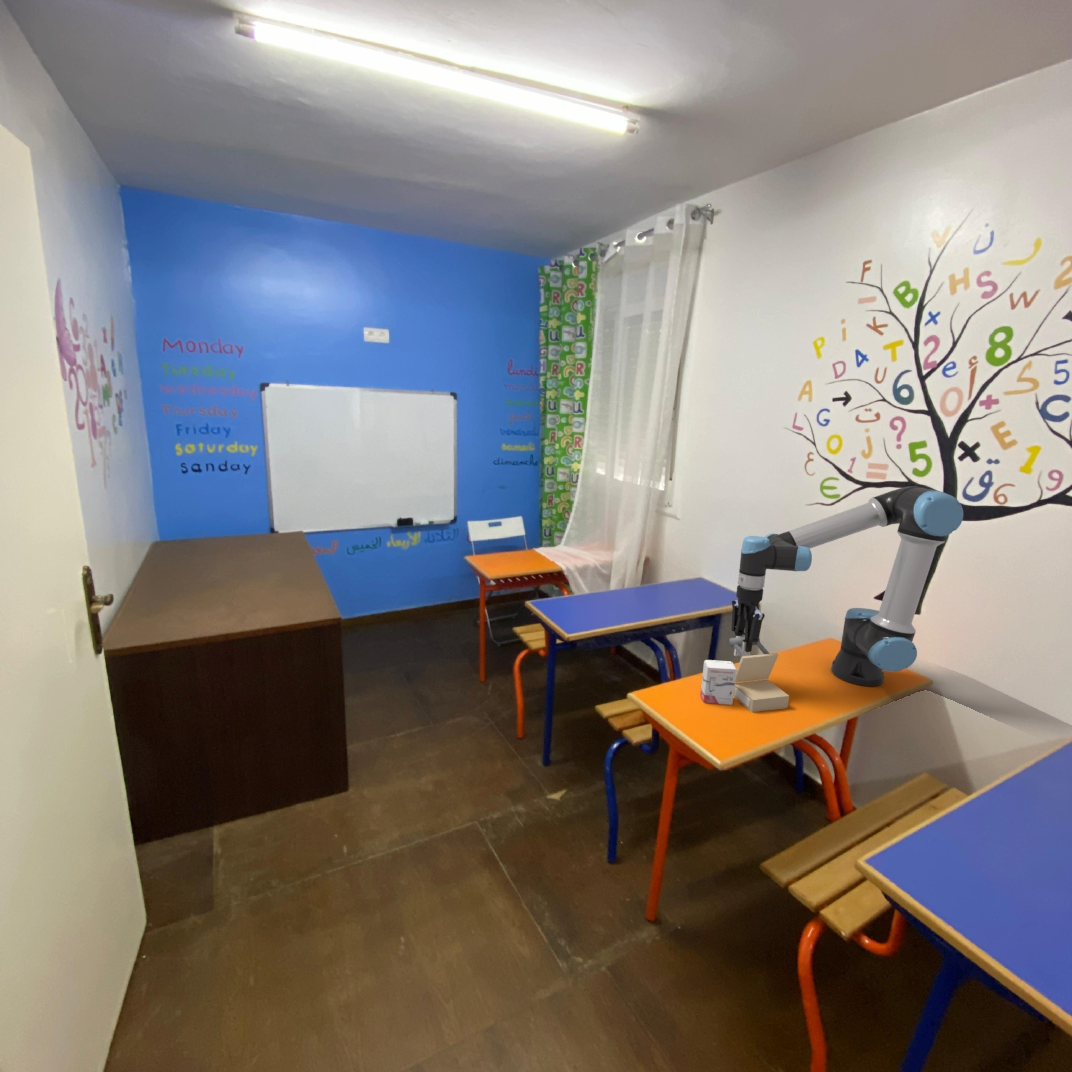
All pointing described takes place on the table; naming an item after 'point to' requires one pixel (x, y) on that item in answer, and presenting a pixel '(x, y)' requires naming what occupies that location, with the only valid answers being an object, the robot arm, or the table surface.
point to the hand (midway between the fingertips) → (741, 657)
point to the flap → (753, 662)
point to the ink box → (718, 682)
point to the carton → (760, 695)
